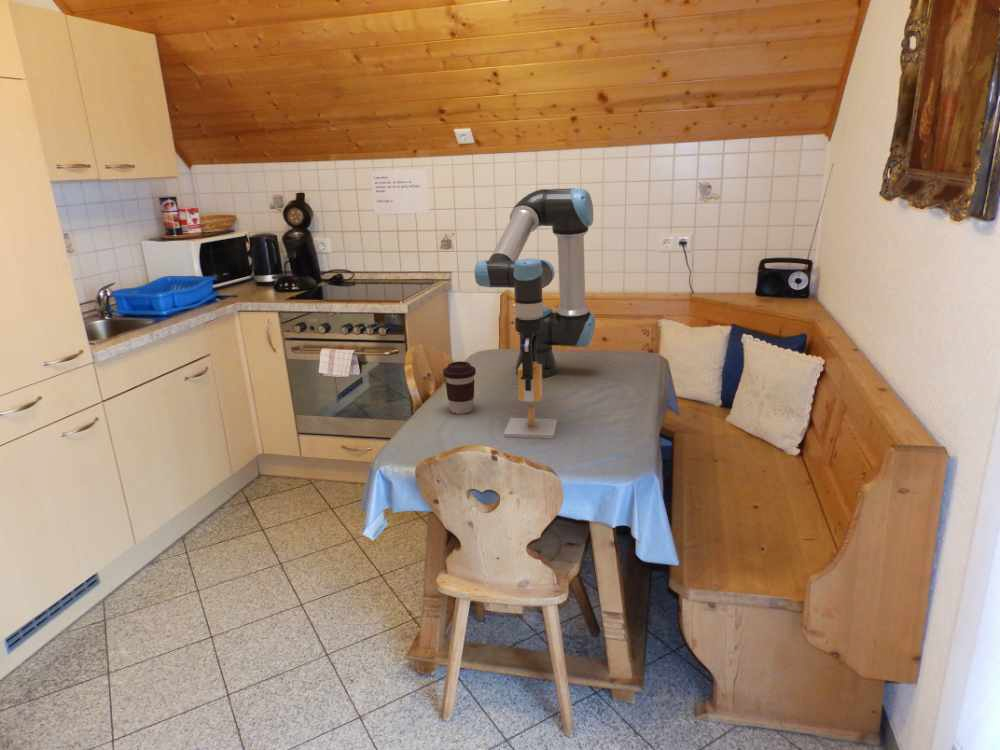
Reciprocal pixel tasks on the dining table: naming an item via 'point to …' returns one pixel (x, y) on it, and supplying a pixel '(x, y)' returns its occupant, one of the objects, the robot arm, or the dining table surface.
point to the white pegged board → (531, 426)
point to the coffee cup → (460, 386)
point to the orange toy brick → (537, 382)
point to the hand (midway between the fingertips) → (530, 396)
